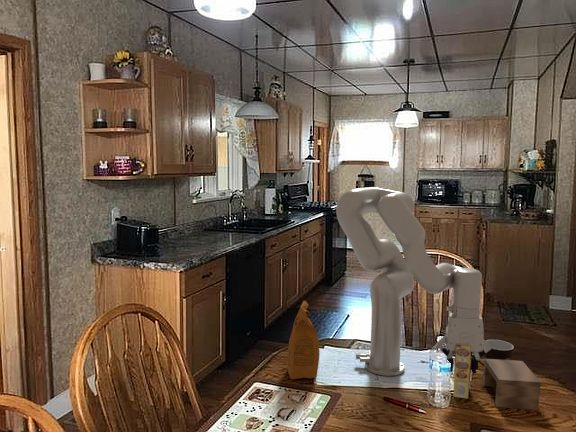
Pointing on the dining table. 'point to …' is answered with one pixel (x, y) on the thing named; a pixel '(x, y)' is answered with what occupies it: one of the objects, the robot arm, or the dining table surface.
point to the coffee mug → (499, 350)
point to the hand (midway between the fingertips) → (461, 370)
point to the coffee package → (303, 347)
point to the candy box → (462, 371)
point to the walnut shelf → (512, 383)
